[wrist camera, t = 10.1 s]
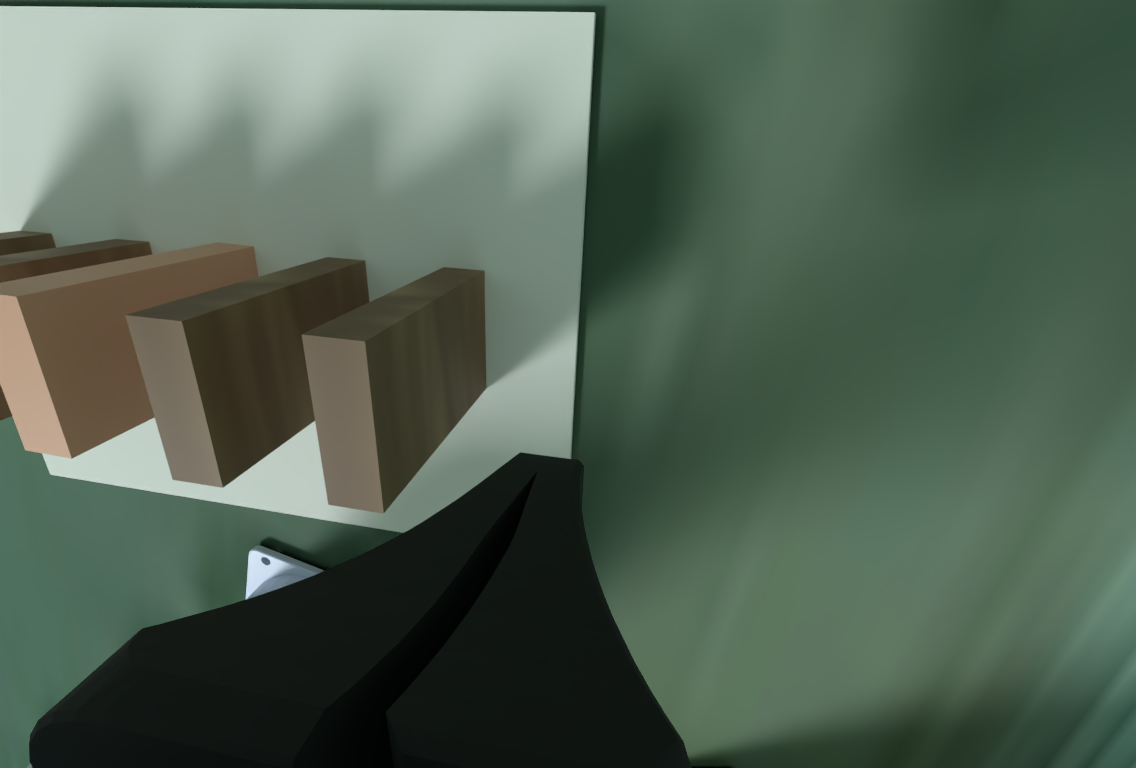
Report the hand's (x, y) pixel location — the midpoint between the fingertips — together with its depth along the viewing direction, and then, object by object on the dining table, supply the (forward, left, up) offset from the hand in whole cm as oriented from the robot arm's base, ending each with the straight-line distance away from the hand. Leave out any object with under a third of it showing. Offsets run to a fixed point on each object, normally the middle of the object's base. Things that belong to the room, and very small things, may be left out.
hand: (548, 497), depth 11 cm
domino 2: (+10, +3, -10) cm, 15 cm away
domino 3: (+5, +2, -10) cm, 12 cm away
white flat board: (+15, +4, -11) cm, 18 cm away
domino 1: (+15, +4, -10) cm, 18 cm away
